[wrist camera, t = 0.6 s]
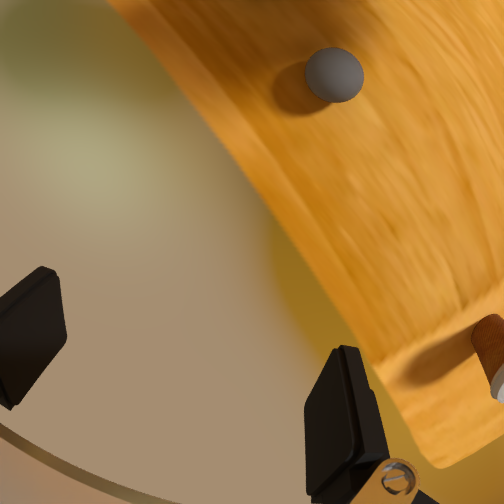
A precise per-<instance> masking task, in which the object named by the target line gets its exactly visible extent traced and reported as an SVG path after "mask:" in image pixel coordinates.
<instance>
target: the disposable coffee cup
mask: <svg viewBox="0 0 504 504" xmlns="http://www.w3.org/2000/svg"><path fill="white" fill-rule="evenodd" d="M471 341H472V344H473V346H474V348H475V350H476V353H477V355H478V357H479V360H480V362H481V364H482V367H483V369H484V372H485V374H486V376H487V379H488V382H489V384H490V390H491V396H492V397H493V398H494V399H497V400H498V401H499V402H501V403H504V319H502V318H501V317H500V316H499V315H497V314H492V315H489V316H487V317H485V318H484V319H482V320H481V321H480V322H479V323H478V325H477V326H476V327H475V329H474V331H473V333H472V337H471Z"/></svg>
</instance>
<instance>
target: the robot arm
mask: <svg viewBox="0 0 504 504" xmlns="http://www.w3.org/2000/svg"><path fill="white" fill-rule="evenodd" d="M66 340H67V332H66V326H65V320H64V313H63V306H62V297H61V289H60V280H59V277H58V276H57V274H56V272H55V271H54V270H52V269H49V268H47V267H44V266H40V267H38V268H37V269H36V270H34V271H33V272H32V273H30V274H29V275H28V276H26V277H25V278H24V279H23V280H21V281H20V282H19V283H18V284H16V285H15V286H14V287H12V288H11V289H10V290H9V291H8V292H6V293H5V294H4V295H3V296H1V297H0V404H1V405H2V406H4V407H5V408H7V409H8V410H10V411H11V410H12V408H13V407H14V405H18V404H19V403H20V402H21V401H22V399H23V398H24V397H25V395H26V394H27V392H28V391H29V390H30V388H31V387H32V386H33V384H34V383H35V382H36V380H37V379H38V378H39V376H40V375H41V374H42V372H43V371H44V370H45V368H46V367H47V366H48V365H49V363H50V362H51V361H52V360H53V358H54V357H55V356H56V354H57V353H58V352H59V351H60V350H61V348H62V347H63V346H64V344H65V343H66ZM304 423H305V454H306V493H307V495H309V496H311V503H313V504H439V503H438V502H436V501H435V500H433V499H432V498H430V497H429V496H428V495H426V494H425V493H423V492H422V491H421V490H419V486H420V477H419V474H418V472H417V470H416V469H415V467H414V466H413V465H412V464H410V463H409V462H408V461H405V460H403V459H399V458H391V459H390V455H389V450H388V446H387V442H386V437H385V433H384V429H383V425H382V421H381V417H380V413H379V409H378V405H377V401H376V397H375V394H374V392H373V391H372V390H371V389H370V387H369V384H368V380H367V376H366V373H365V369H364V365H363V362H362V358H361V354H360V351H359V349H358V348H356V347H351V346H345V345H340V346H339V348H338V349H335V348H334V349H333V350H332V352H331V354H330V356H329V358H328V360H327V362H326V364H325V366H324V368H323V370H322V372H321V374H320V376H319V377H318V380H317V382H316V383H315V385H314V387H313V389H312V391H311V393H310V394H309V396H308V398H307V400H306V402H305V406H304ZM0 504H180V503H175V502H172V501H169V500H165V499H161V498H158V497H155V496H151V495H148V494H145V493H142V492H139V491H136V490H133V489H130V488H127V487H125V486H122V485H119V484H117V483H114V482H111V481H109V480H106V479H104V478H102V477H99V476H97V475H94V474H92V473H90V472H87V471H85V470H83V469H81V468H78V467H76V466H74V465H72V464H70V463H68V462H66V461H64V460H62V459H60V458H58V457H56V456H54V455H53V454H51V453H49V452H47V451H45V450H43V449H41V448H40V447H38V446H36V445H34V444H33V443H31V442H29V441H28V440H26V439H24V438H23V437H21V436H19V435H18V434H16V433H15V432H13V431H12V430H10V429H8V428H7V427H5V426H4V425H2V424H1V423H0Z"/></svg>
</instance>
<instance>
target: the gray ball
mask: <svg viewBox="0 0 504 504" xmlns="http://www.w3.org/2000/svg"><path fill="white" fill-rule="evenodd" d="M305 78H306V82H307V84H308V86H309V88H310V90H311V91H312V92H313V93H314V94H315V95H316V96H318V97H319V98H321V99H323V100H325V101H328V102H333V103H341V102H345V101H348V100H350V99H352V98H353V97H355V96H356V95H357V94H358V93H359V91H360V90H361V88H362V85H363V81H364V73H363V69H362V66H361V64H360V63H359V61H358V60H357V59H356V58H355V57H354V56H353V55H352V54H351V53H349V52H348V51H346V50H343V49H340V48H325V49H321V50H319V51H317V52H316V53H314V54H313V55H312V56H311V57H310V59H309V60H308V62H307V64H306V68H305Z"/></svg>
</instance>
